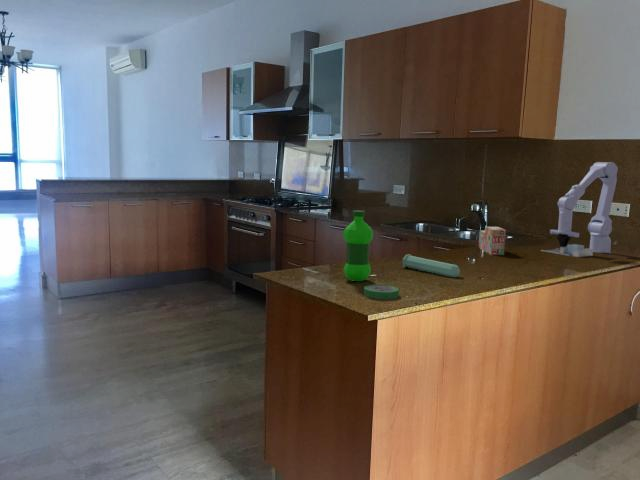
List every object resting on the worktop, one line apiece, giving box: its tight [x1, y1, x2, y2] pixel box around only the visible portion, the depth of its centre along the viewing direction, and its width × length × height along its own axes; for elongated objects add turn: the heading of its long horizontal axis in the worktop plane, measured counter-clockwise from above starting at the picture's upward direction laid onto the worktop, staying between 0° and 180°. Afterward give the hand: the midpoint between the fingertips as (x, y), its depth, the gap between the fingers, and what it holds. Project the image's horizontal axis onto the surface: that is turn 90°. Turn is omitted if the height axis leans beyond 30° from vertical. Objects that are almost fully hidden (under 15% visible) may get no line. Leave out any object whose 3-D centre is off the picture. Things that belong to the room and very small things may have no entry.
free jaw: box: [558, 246, 567, 254], centre depth 260 cm, size 10×3×3 cm, turn 119°
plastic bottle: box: [342, 210, 374, 281], centre depth 196 cm, size 10×10×25 cm
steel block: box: [567, 243, 585, 255], centre depth 257 cm, size 5×5×4 cm
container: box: [402, 253, 461, 278], centre depth 215 cm, size 6×6×25 cm
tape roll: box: [363, 284, 400, 300], centre depth 176 cm, size 11×11×3 cm
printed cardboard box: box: [478, 226, 507, 256], centre depth 268 cm, size 21×6×12 cm, turn 0°
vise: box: [540, 247, 594, 258], centre depth 261 cm, size 12×20×4 cm, turn 29°
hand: (563, 250), depth 263 cm, fingers closed
